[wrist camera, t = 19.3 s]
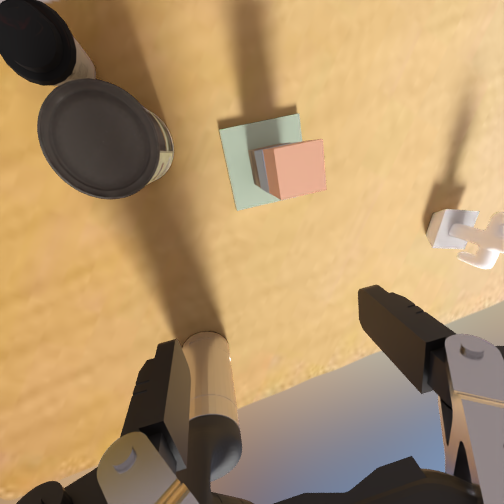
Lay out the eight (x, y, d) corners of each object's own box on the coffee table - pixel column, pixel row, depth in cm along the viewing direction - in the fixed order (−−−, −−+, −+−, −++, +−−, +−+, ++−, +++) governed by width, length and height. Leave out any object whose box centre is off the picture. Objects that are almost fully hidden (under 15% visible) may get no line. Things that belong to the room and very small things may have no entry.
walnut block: (284, 177, 41) (295, 180, 37) (254, 184, 41) (260, 188, 36) (279, 143, 39) (290, 142, 35) (247, 150, 39) (253, 150, 34)
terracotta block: (308, 184, 32) (326, 189, 27) (269, 193, 32) (281, 200, 27) (304, 141, 30) (322, 138, 25) (262, 149, 30) (273, 149, 25)
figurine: (415, 246, 52) (493, 281, 38) (431, 199, 48) (522, 217, 35) (445, 248, 53) (531, 281, 39) (463, 201, 50) (562, 220, 36)
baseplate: (305, 193, 44) (307, 194, 43) (236, 209, 43) (237, 210, 42) (296, 114, 39) (299, 113, 38) (218, 130, 38) (219, 129, 37)
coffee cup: (115, 94, 34) (83, 73, 25) (61, 106, 34) (8, 89, 25) (91, 30, 32) (45, -20, 23) (32, 41, 31) (-39, -5, 22)
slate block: (295, 180, 37) (308, 184, 32) (261, 188, 36) (269, 194, 32) (290, 142, 35) (303, 141, 30) (254, 151, 34) (262, 150, 30)
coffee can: (96, 96, 34) (32, 62, 21) (177, 115, 37) (164, 95, 24) (96, 176, 37) (39, 189, 24) (170, 189, 40) (155, 207, 27)
